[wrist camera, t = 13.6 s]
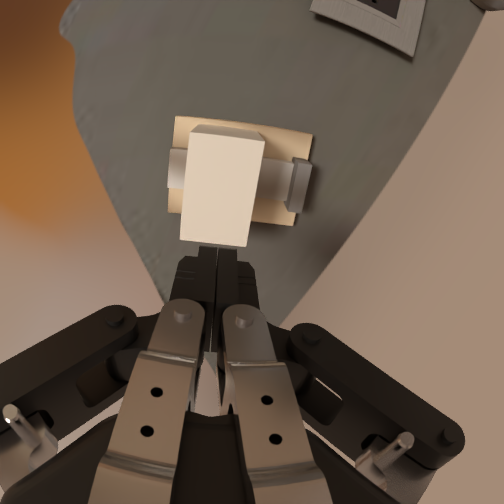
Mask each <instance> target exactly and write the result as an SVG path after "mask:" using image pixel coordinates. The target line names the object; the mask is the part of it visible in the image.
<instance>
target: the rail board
mask: <svg viewBox="0 0 504 504" xmlns="http://www.w3.org/2000/svg"><path fill="white" fill-rule="evenodd" d="M198 124H209V125H217V126H226V127H233V128H240V129H247V130H254V131H257V132H258V133H259V134H260V136H261V137H262V138H263V140H264V141H265V145H264V150H263V156H262V161H261V166H260V172H259V177H258V183H257V188H256V194H255V199H254V205H253V210H252V216H251V221H256V222H264V223H272V224H280V225H288V226H293V223H294V218H295V214H296V213H302V208H303V204H304V200H305V196H306V191H307V187H308V182H309V178H310V174H311V169H312V164H311V163H309V162H308V161H307V160H308V156H309V151H310V146H311V141H312V136H313V135H312V134H309V133H304V132H299V131H294V130H289V129H283V128H277V127H272V126H265V125H259V124H252V123H245V122H238V121H230V120H221V119H212V118H202V117H191V116H176V118H175V127H174V136H173V146H172V148H171V149H170V159H169V172H168V186H167V188H169V200H168V212H171V213H182V203H183V191H184V180H185V170H186V161H187V152H188V143H189V135H190V131H192V130H193V129H194V128H195V127H196V126H197V125H198Z"/></svg>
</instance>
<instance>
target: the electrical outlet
mask: <svg viewBox="0 0 504 504" xmlns="http://www.w3.org/2000/svg"><path fill="white" fill-rule="evenodd" d="M425 1H426V0H313V1H312V4H311V7H310V10H309V11H311V12H313V13H316V14H319V15H322V16H325V17H327V18H330V19H333V20H335V21H338V22H340V23H343V24H345V25H348V26H350V27H352V28H355V29H357V30H359V31H361V32H364V33H366V34H368V35H370V36H372V37H374V38H376V39H378V40H380V41H382V42H384V43H386V44H388V45H390V46H392V47H394V48H396V49H398V50H400V51H401V52H403V53H405V54H407V55H409V56H410V57H413V55H414V51H415V47H416V43H417V39H418V34H419V30H420V25H421V21H422V16H423V11H424V6H425Z"/></svg>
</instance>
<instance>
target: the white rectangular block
mask: <svg viewBox="0 0 504 504" xmlns="http://www.w3.org/2000/svg"><path fill="white" fill-rule="evenodd" d="M264 145H265V141H264V140H263V138H262V137H261V136H260V134H259V133H258V132H257V131H254V130H247V129H240V128H233V127H226V126H217V125H209V124H198V125H197V126H196V127H195V128H194V129H193V130H192V131H190V135H189V143H188V152H187V161H186V170H185V180H184V191H183V203H182V215H181V229H180V240H188V241H197V242H206V243H215V244H224V245H233V246H242V247H246V244H247V238H248V233H249V227H250V221H251V216H252V210H253V205H254V199H255V194H256V188H257V183H258V177H259V172H260V166H261V161H262V156H263V150H264Z"/></svg>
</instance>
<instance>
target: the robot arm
mask: <svg viewBox="0 0 504 504" xmlns="http://www.w3.org/2000/svg"><path fill="white" fill-rule="evenodd" d="M471 1H472V2H474V3H475V4H476V5H477V6H479V7H480V8H482V9H484V10H487V11H497V10H504V0H471ZM216 261H217V266H216ZM212 318H213V319H212ZM211 328H212V340H211V352H217V364H216V378H217V390H218V401H219V414H220V416H215V417H208V416H204V415H201V414H198V413H194V411H195V404H196V397H197V391H198V384H199V378H200V372H201V365H202V363H203V359H204V351H207V352H209V348H210V338H211ZM316 378H318V379H319V380H320V381H321V382H323V383H324V384H325V385H326V386H328V387H329V388H330V389H332V390H333V391H334V392H335V393H337V394H338V395H339V396H340V397H341V399H342V400H341V399H340V398H339V397H337V396H336V395H335V394H334V393H332V392H331V391H330V390H328V389H327V388H326V387H325V386H323V385H322V384H321V383H320V382H318V381H317V380H316ZM123 396H124V398H123V401H122V404H121V407H120V410H119V413H118V414H115V415H113V416H110V417H108V418H106V419H104V420H103V421H101V422H100V423H98V424H97V425H95V426H94V427H93V428H91V429H90V430H89V431H87V432H86V433H85V434H84V435H82V436H81V437H79V438H78V439H77V440H75V441H74V442H73V443H71V444H70V445H69V446H67V447H66V448H64V449H63V450H62V451H60V452H59V453H58V454H57V451H58V441H59V440H61V439H62V438H64V437H65V436H67V435H68V434H70V433H71V432H73V431H74V430H76V429H77V428H79V427H80V426H81V425H83V424H85V423H86V422H87V421H89V420H90V419H92V418H93V417H95V416H96V415H98V414H99V413H101V412H102V411H103V410H105V409H106V408H108V407H109V406H110V405H112V404H113V403H115V402H116V401H118V400H119V399H120V398H122V397H123ZM302 419H303V420H304V421H305V422H306V423H307V424H308V425H310V426H311V427H312V428H313V429H314V430H316V431H317V432H318V433H319V434H320V435H322V436H323V437H324V438H325V439H327V440H328V441H329V442H330V443H331V444H333V445H334V446H335V447H337V448H338V449H339V450H340V451H342V452H343V453H344V454H345V455H347V456H348V457H349V458H351V459H352V460H353V461H355V468H354V467H353V466H352V465H351V464H349V463H348V462H347V461H346V460H345V459H343V458H342V457H341V456H340V455H338V454H337V453H336V452H335V451H334V450H333V449H331V448H330V447H329V446H328V445H327V444H326V443H324V441H322V440H321V439H320V438H319V437H318V436H316V435H315V434H313V433H312V432H311V431H309V430H307V429H305V427H304V424H303V420H302ZM464 445H465V436H464V433H463V431H462V429H461V427H460V426H459V425H458V424H457V423H456V422H455V421H453V420H452V419H450V418H449V417H447V416H446V415H444V414H443V413H441V412H440V411H439V410H437V409H436V408H434V407H433V406H431V405H430V404H428V403H427V402H426V401H424V400H423V399H421V398H420V397H418V396H417V395H416V394H414V393H412V392H411V391H410V390H408V389H407V388H405V387H404V386H403V385H401V384H400V383H399V382H397V381H396V380H394V379H393V378H391V377H390V376H389V375H387V374H386V373H384V372H383V371H382V370H380V369H379V368H377V367H376V366H375V365H373V364H372V363H371V362H369V361H368V360H366V359H365V358H364V357H362V356H361V355H359V354H358V353H357V352H355V351H354V350H352V349H351V348H350V347H348V346H347V345H345V344H344V343H342V342H341V341H340V340H339V339H337V338H336V337H334V336H333V335H332V334H330V333H329V332H328V331H326V330H325V329H324V328H322V327H320V326H318V325H315V324H311V323H301V324H297V325H296V326H294V327H293V328H292V329H291V331H289V330H285V329H282V328H279V327H276V326H274V325H272V324H270V323H268V322H267V321H266V318H265V316H264V314H263V313H262V312H261V311H260V308H259V301H258V293H257V286H256V279H255V271H254V269H253V267H252V266H251V265H250V264H249V262H242V261H237V249H232V248H223V247H219V250H218V258H217V247H213V246H203V245H200V247H199V253H198V257H192V256H185V257H184V258H183V259H182V260H180V261H179V263H178V267H177V272H176V275H175V279H174V283H173V287H172V291H171V295H170V299H169V302H167V303H166V304H165V305H164V306H163V307H162V309H161V312H159V313H157V314H155V315H150V316H143V317H137V316H136V314H135V313H134V311H133V310H131V309H130V308H128V307H126V306H122V305H111V306H107V307H104V308H102V309H101V310H98V311H97V312H95V313H93V314H91V315H89V316H87V317H85V318H83V319H82V320H80V321H78V322H76V323H74V324H72V325H70V326H69V327H67V328H65V329H63V330H61V331H59V332H58V333H56V334H54V335H52V336H50V337H48V338H47V339H45V340H43V341H41V342H39V343H37V344H35V345H34V346H32V347H30V348H28V349H26V350H24V351H23V352H21V353H19V354H17V355H15V356H14V357H12V358H10V359H8V360H6V361H5V362H3V363H1V364H0V485H1V487H2V489H3V491H4V492H5V493H4V495H3V497H2V499H1V502H0V504H417V503H418V501H419V500H420V498H421V497H422V495H423V493H424V492H425V490H426V488H427V487H428V485H429V483H430V481H431V480H432V478H433V476H434V474H435V472H436V471H437V469H439V468H440V467H442V466H443V465H444V464H446V463H447V462H449V461H450V460H451V459H453V458H454V457H455V456H457V455H458V454H459V453H460V452H461V451H462V450H463V448H464Z"/></svg>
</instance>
